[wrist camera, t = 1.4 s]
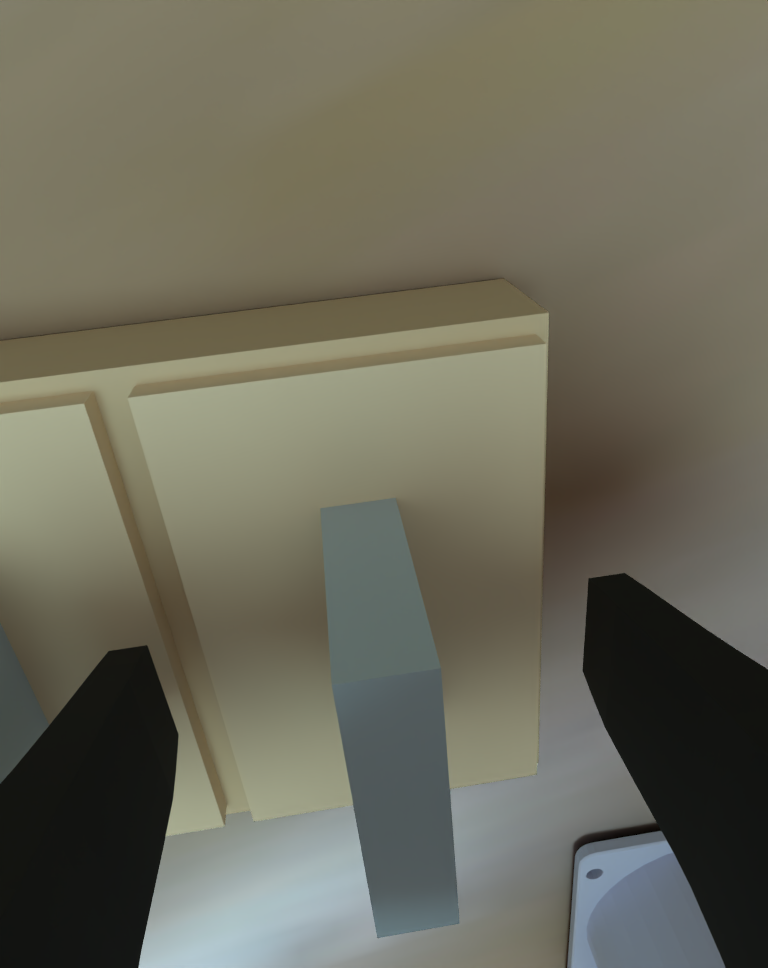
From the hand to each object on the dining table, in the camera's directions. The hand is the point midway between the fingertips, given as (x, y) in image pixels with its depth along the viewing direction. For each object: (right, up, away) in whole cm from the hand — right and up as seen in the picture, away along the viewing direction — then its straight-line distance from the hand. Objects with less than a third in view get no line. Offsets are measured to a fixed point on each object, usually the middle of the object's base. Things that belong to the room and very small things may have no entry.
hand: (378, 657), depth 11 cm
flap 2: (0, +1, +1) cm, 1 cm away
